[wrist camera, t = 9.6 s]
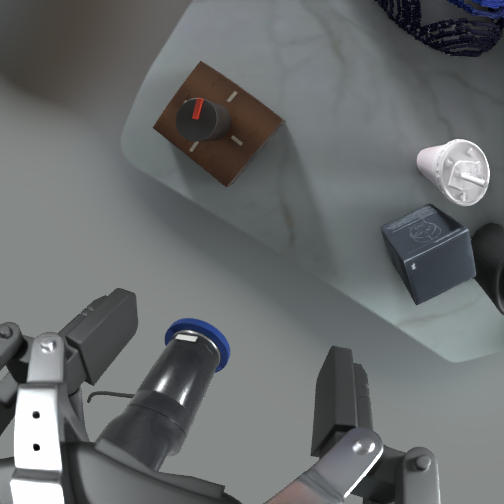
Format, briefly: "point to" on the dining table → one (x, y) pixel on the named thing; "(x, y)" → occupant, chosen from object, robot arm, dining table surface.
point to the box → (429, 252)
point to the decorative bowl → (493, 3)
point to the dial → (202, 120)
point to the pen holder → (490, 262)
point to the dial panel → (241, 130)
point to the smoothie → (456, 170)
